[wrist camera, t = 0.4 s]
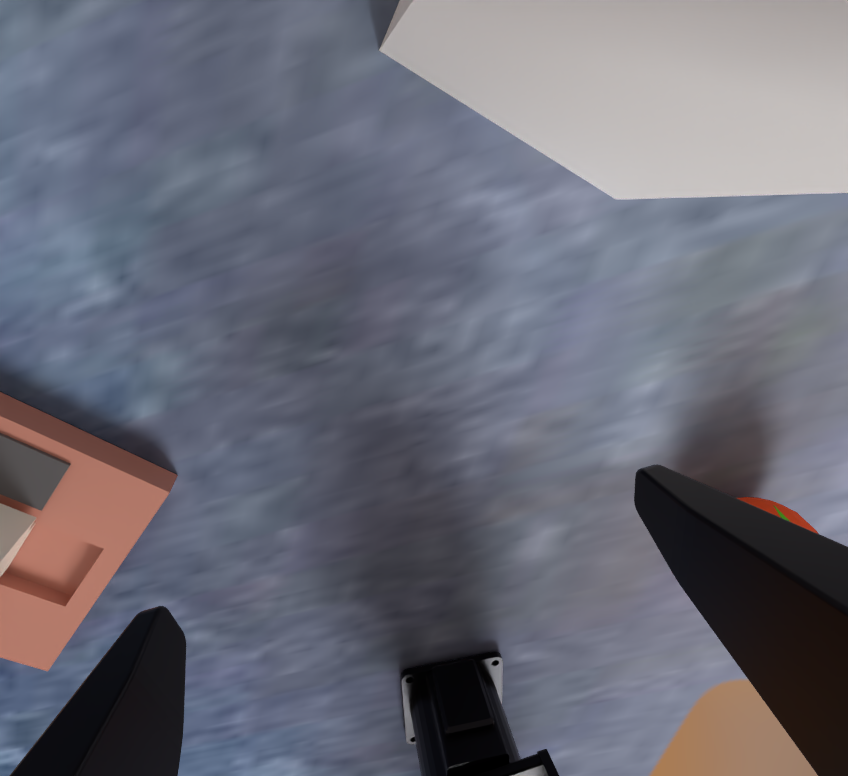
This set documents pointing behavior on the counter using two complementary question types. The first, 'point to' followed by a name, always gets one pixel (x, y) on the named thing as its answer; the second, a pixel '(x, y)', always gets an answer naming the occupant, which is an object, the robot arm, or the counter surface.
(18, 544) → the switch tab
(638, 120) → the milk
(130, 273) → the counter surface
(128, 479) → the switch block
